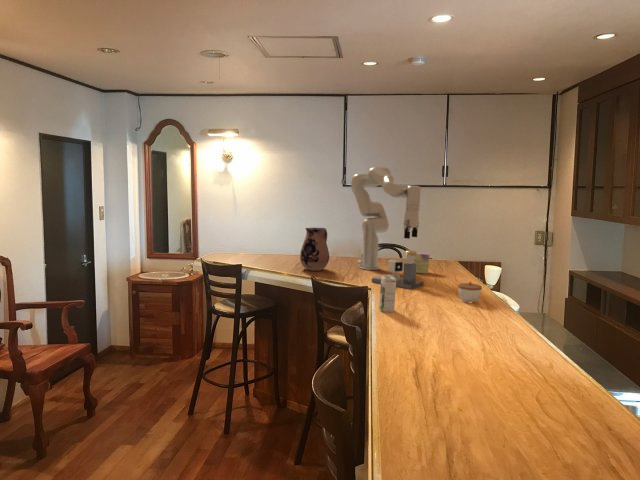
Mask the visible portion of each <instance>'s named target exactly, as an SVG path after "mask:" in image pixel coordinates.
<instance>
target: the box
mask: <svg viewBox="0 0 640 480" xmlns="http://www.w3.org/2000/svg"><path fill="white" fill-rule="evenodd" d="M414 263H415V264H416V274H429V266H430V254H429V253H427V252H426V253H425V252H417V255H415V257H414Z"/></svg>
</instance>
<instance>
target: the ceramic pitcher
mask: <svg viewBox="0 0 640 480" xmlns="http://www.w3.org/2000/svg"><path fill="white" fill-rule="evenodd" d="M305 231H306V235H305V237H304V239H303V244H302V246H301V250H300V255H299V258H300V262H301V263H300V264H301V265H302V266H303V268H305V269H306V270H307V271H311V272H312V271H313V272H320V271H322V270H324V269H325V268H326V267H327V266H328V264H329V262H330V252H329V247H328V244H327V241H328V232H327V228H325V227H305Z"/></svg>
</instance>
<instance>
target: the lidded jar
mask: <svg viewBox="0 0 640 480" xmlns="http://www.w3.org/2000/svg"><path fill="white" fill-rule="evenodd" d="M457 286H458V289H457V291H458V296H459V298H460V299H461V302H463V301H464V302H463V303H466V302H475V303H476V302H478V301H479V299H480V298H481V295H482V289H483V287H482V285H480V284H477V283H472V281H469V282H468V283H467V282H464V283H463V282H462V283H459V284H458V285H457Z"/></svg>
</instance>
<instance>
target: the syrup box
mask: <svg viewBox="0 0 640 480" xmlns="http://www.w3.org/2000/svg"><path fill="white" fill-rule="evenodd" d="M379 288H380V289H379V290H380V291H379V302H378V303H379V304H378V305H379V306H378V309H379V311H380V312H381V313H395V306H396V305H395V304H396V303H395V302H396V291H397V287H396V279H395V278H394V277H390V276H382V277H381V284H380V287H379Z"/></svg>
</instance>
